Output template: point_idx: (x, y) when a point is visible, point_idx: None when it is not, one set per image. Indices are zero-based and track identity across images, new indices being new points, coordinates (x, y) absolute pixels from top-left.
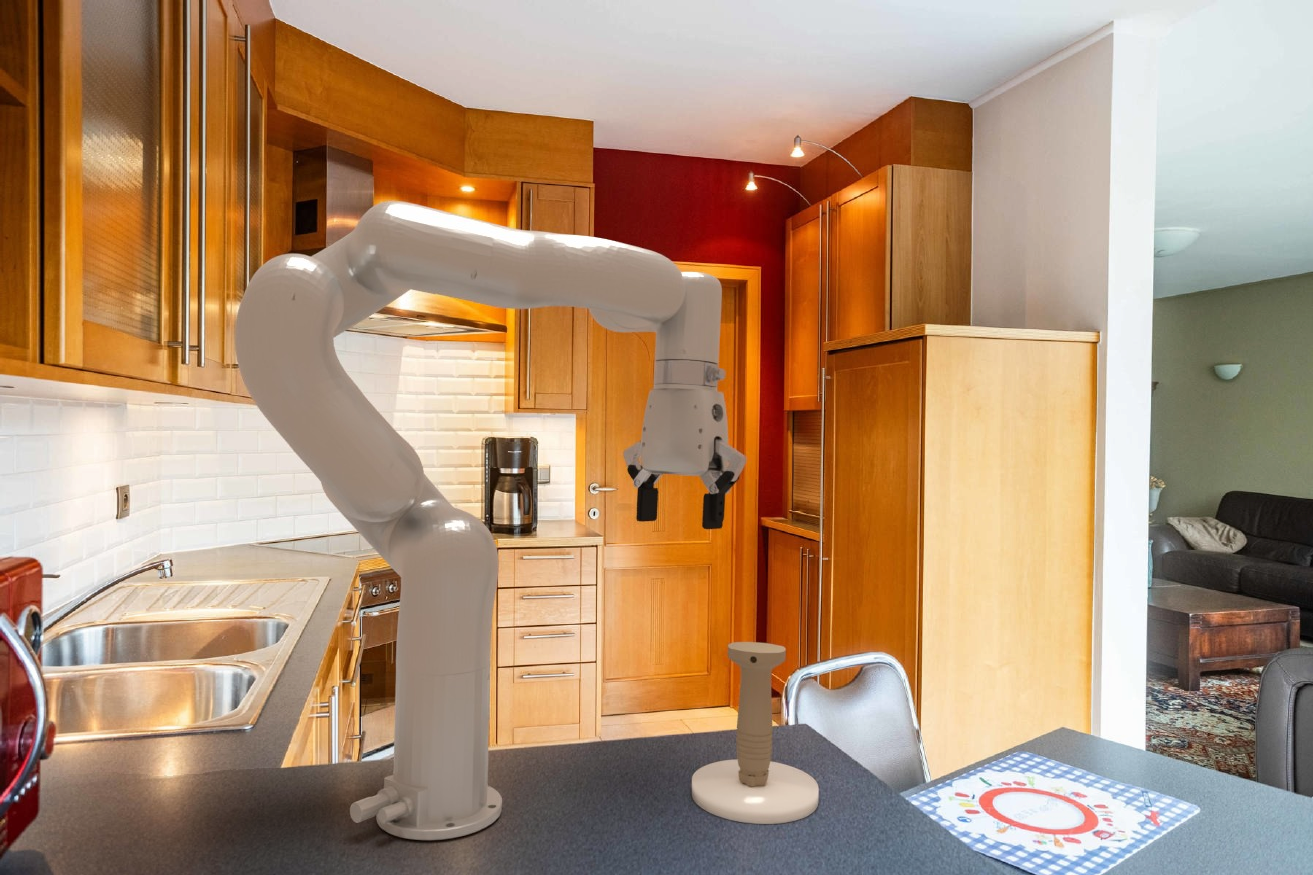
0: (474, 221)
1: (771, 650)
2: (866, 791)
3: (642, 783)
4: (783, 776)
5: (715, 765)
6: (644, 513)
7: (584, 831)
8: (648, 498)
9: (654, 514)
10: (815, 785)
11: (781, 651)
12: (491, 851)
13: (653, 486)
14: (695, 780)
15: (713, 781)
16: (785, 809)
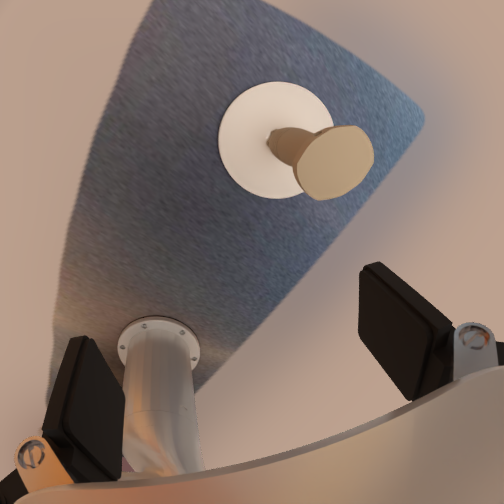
0: None
1: (360, 159)
2: (332, 57)
3: (190, 203)
4: (288, 108)
5: (226, 140)
6: (117, 403)
7: (237, 288)
8: (105, 434)
9: (93, 360)
10: (320, 103)
11: (371, 153)
12: (224, 342)
13: (74, 455)
14: (241, 182)
15: (253, 169)
16: None
